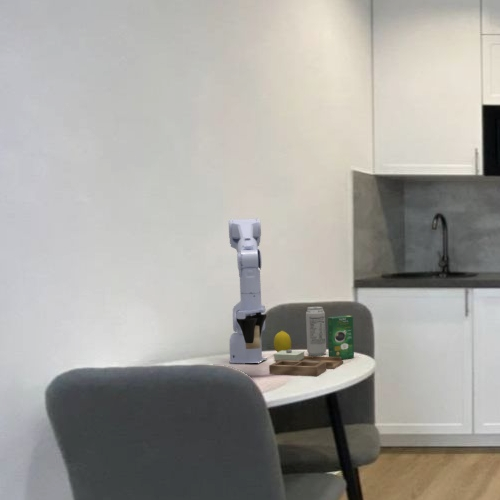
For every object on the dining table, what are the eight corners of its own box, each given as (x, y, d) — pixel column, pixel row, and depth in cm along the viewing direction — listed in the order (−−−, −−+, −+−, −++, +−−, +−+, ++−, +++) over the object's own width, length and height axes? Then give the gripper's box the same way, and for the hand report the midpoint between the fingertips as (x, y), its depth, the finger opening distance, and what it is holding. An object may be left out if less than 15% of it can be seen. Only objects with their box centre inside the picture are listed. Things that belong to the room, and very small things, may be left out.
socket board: (269, 374, 202) (269, 365, 202) (280, 368, 209) (279, 360, 209) (317, 376, 196) (316, 367, 196) (326, 370, 204) (325, 362, 204)
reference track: (273, 366, 213) (273, 360, 213) (285, 360, 221) (284, 355, 221) (334, 369, 205) (333, 362, 205) (343, 363, 213) (343, 357, 213)
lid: (273, 361, 214) (273, 351, 214) (281, 357, 220) (281, 347, 220) (297, 362, 211) (296, 352, 211) (304, 358, 217) (304, 348, 217)
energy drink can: (324, 352, 233) (323, 306, 233) (327, 355, 227) (325, 308, 227) (306, 353, 233) (304, 306, 232) (308, 356, 227) (306, 308, 226)
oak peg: (243, 348, 200) (242, 327, 200) (249, 346, 204) (248, 325, 203) (256, 349, 198) (255, 327, 198) (262, 346, 202) (261, 325, 202)
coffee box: (349, 356, 224) (348, 314, 223) (355, 358, 221) (353, 315, 221) (328, 360, 220) (326, 317, 219) (333, 361, 217) (331, 317, 217)
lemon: (290, 357, 227) (289, 331, 227) (273, 357, 228) (271, 332, 228) (292, 354, 233) (291, 329, 232) (275, 354, 234) (274, 329, 233)
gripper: (253, 295, 192) (255, 346, 193) (274, 290, 205) (275, 338, 206) (229, 295, 195) (231, 345, 196) (251, 290, 208) (253, 337, 209)
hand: (252, 341), depth 201 cm, fingers closed on oak peg, 4 cm apart
